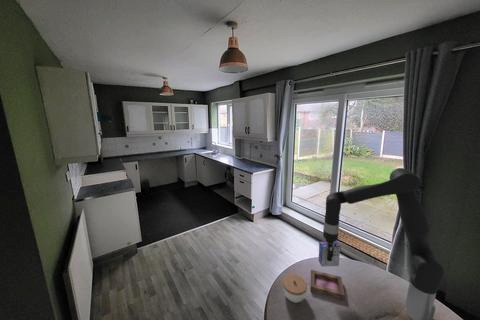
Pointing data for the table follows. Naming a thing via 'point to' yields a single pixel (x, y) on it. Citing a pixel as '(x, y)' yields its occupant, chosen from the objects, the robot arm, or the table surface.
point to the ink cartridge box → (323, 254)
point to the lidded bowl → (294, 288)
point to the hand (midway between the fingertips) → (328, 256)
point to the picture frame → (327, 285)
